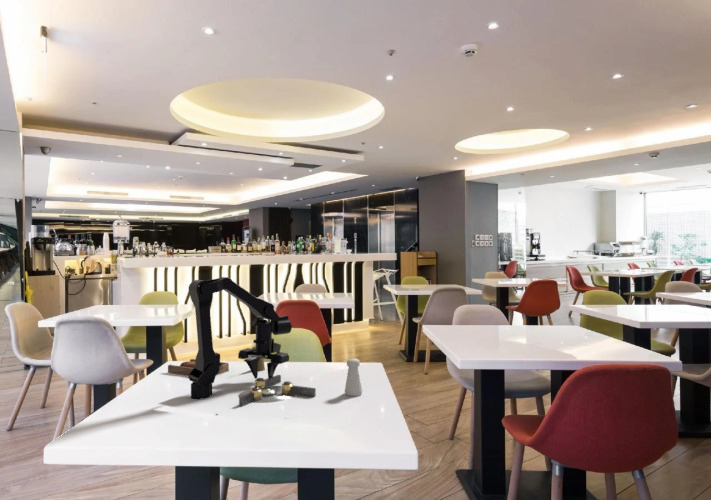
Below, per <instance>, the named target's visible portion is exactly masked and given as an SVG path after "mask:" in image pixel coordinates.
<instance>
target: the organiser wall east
mask: <svg viewBox="0 0 711 500" xmlns="http://www.w3.org/2000/svg"><path fill="white" fill-rule="evenodd" d="M189 361H193V362H195V361H196V358H195V359H194V358H191V359H189ZM220 364H221V365H223V364H229V362H223V361H220Z"/></svg>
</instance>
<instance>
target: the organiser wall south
mask: <svg viewBox="0 0 711 500" xmlns="http://www.w3.org/2000/svg"><path fill="white" fill-rule="evenodd" d="M229 371H230V370H229V363H228V364H223V365H221V366H220V369H219V372H218V373H217V375H220V374H224V373H227V372H229ZM217 375H216V376H217Z"/></svg>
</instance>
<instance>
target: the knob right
mask: <svg viewBox="0 0 711 500" xmlns="http://www.w3.org/2000/svg"><path fill="white" fill-rule="evenodd" d="M281 386H282V394H285V395H289V394H294V395H295V396H303V397H308V398H315V397H316V396H317V395H316V388H315V387H310V386H308V387H307V386H301V385H294V384H293V382H292V381H288V380H287V381H283V383H282V384H281Z"/></svg>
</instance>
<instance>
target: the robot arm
mask: <svg viewBox="0 0 711 500" xmlns="http://www.w3.org/2000/svg"><path fill="white" fill-rule="evenodd" d="M223 290H224V291H225V292H226V293H228V294H229V295H230V296H232V297H234V299H236V300H238V301H240V302H241V303H242V304H243V305H246V307H248V309H249V311H250V312H251V313H252V314H253V315H254V316H256V317H255V318H254V319H253V320H252V321H251V322H250V326H255V339H253V342H252V343H253V344H255V346H256V350H255V349H252V348H244V349H240V350H239V352H238V354H237V358H238V359H240V360H244V361H243V362H245V363H246V364H247V366H248V368H249V370H250V371H251V374H252V375H253V377H254V379H255V380H256V379H257V378H258V377H259V376H258V374H259V373H258V372H259V371H258V361H259V359H260V358H263V359H267V360H270V362H267V363H266V366H267V367H266V369H267V378H270V377H273V376H275V375H274V374H275V372H276V369H277V367H278V365H282V364H284V363H287V362H289V361H290V355H289V354H288V352H282V351H281V347H282V345H281V344H280V343H277V342H275V339H274V338H273V337H272V336H273V335H274V336H278V335H288V334H290V333H291V331H292V329H293V328H292V323H291V321H290V319H289V316H288V315H282V316H279V315H278V313H277V312H276V309H275V306H274V304H273V303H272V302H269V301H267V300H264V299H262V298H258V297H256V296H255V295H253V294H252V293H250V292H249V291H248V290H246V289H245V288H244V287H242V286H240V285H239V284H238V283H236V282H235V281H234V280H232V279H231V278H230V277H227V276H225V277H223V276H220V277H218V278H214V279H213V278H212V279H208V280H202V279H195V280H193V281H191V282H190V284H189V285H188V293H189V297H190V300H191V301H192V304H193V306H194V308H195V309H194V310H195V321H196V322H195V323H196V335H197V337H196V338H197V345H198V351H197V353H196V356H195V359H196V361H195V367H194V368H193V370H192V371H191V372H190V373H189V374H188V375H187V377H188V379H189V380H188V381H189V382H192V383H190V399H191V400H197V401H199V400H204V399H208V398H210V397H211V396H212V395H213V384H214V383H215V379H216V377H217V373H218V372H219V369H220V366H221V364H220V362H221V354H220V353H218V352H216V351H215V350H214V346H213V343H214V342H213V331H212V320H211V319H212V318H211V304H212V302H213V298H214V297H213V296H214V293H218V292H221V291H223ZM259 318H262V319H259ZM261 355H262V356H261Z"/></svg>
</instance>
